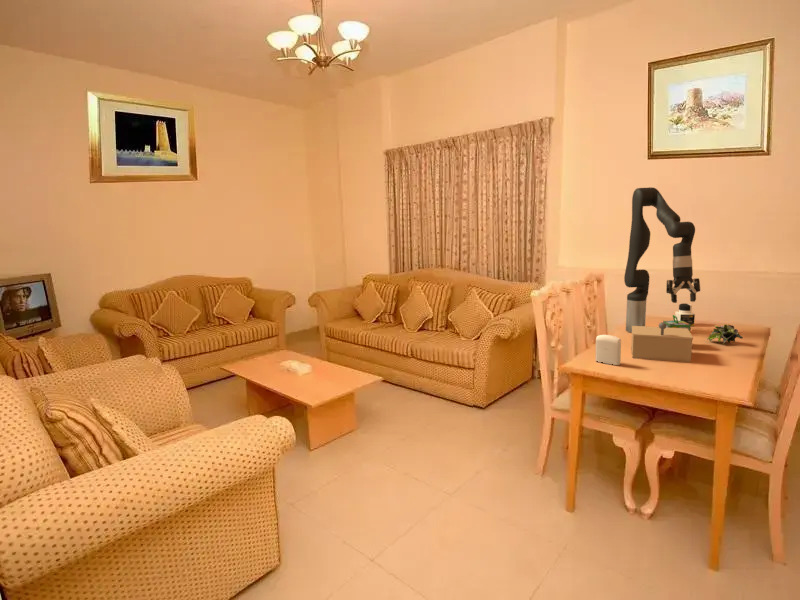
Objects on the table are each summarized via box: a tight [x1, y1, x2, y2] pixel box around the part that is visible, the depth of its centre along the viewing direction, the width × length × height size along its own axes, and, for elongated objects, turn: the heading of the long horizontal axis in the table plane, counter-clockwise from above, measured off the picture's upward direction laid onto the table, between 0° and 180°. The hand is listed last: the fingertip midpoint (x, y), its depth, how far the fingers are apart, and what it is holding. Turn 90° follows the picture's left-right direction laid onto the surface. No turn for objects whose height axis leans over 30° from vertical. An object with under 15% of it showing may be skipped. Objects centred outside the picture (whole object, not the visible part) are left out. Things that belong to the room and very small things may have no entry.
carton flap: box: [631, 321, 694, 340], centre depth 201 cm, size 16×22×6 cm
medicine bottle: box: [674, 303, 696, 328], centre depth 251 cm, size 7×7×12 cm
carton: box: [630, 332, 693, 363], centre depth 203 cm, size 16×22×10 cm
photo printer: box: [595, 334, 622, 366], centre depth 195 cm, size 10×4×12 cm, turn 45°
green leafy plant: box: [706, 323, 744, 346], centre depth 215 cm, size 11×11×12 cm
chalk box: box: [662, 314, 691, 333], centre depth 214 cm, size 9×9×15 cm
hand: (683, 302), depth 205 cm, fingers open, 8 cm apart
